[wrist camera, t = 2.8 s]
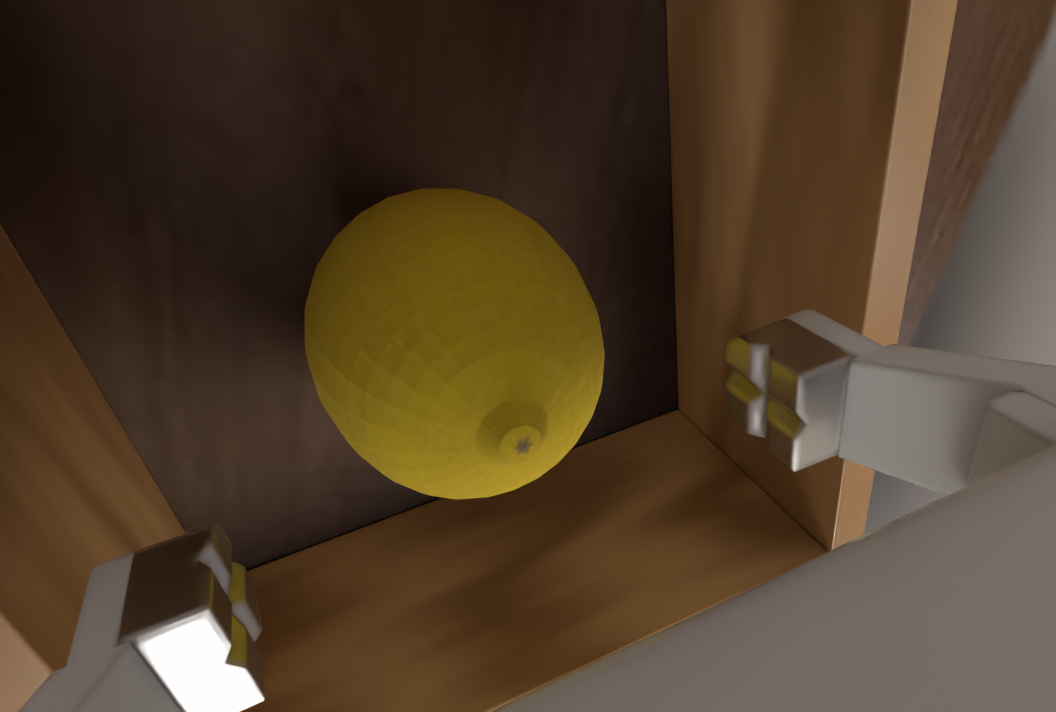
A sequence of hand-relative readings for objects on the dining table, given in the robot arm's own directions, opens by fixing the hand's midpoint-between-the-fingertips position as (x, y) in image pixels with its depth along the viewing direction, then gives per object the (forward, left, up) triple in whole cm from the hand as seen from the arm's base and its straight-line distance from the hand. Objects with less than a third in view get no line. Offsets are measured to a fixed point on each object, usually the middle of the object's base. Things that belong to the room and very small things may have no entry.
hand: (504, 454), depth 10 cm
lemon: (0, 0, -8) cm, 8 cm away
